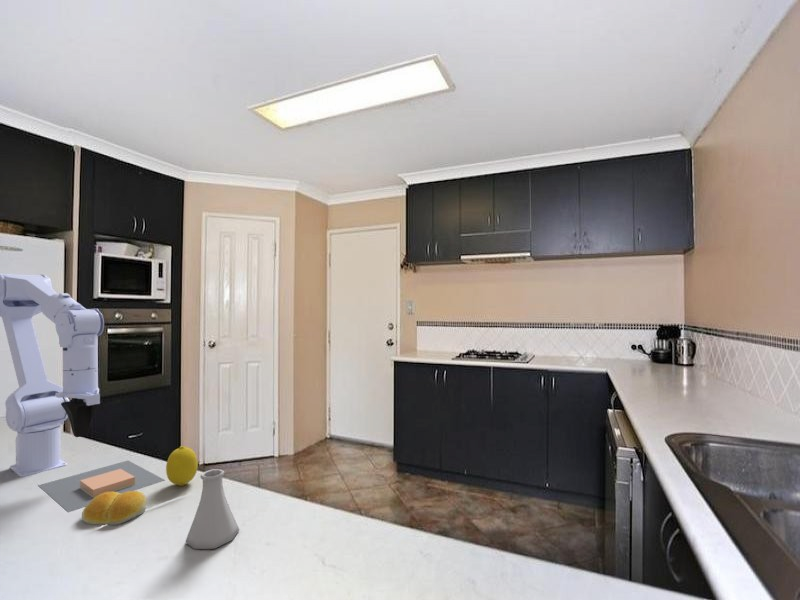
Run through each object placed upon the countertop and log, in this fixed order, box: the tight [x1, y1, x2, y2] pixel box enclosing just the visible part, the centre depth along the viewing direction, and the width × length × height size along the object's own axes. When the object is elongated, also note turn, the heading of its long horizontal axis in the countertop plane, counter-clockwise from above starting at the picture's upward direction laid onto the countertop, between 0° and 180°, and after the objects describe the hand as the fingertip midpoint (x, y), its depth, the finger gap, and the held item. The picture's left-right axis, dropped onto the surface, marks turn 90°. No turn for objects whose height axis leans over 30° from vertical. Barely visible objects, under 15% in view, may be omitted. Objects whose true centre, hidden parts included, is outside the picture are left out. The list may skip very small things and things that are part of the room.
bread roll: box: [81, 490, 147, 526], centre depth 73 cm, size 8×9×4 cm
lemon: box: [165, 445, 199, 487], centre depth 84 cm, size 6×6×8 cm
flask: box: [185, 468, 240, 550], centre depth 66 cm, size 7×7×10 cm
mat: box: [37, 460, 165, 513], centre depth 85 cm, size 18×16×1 cm
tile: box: [80, 469, 135, 498], centre depth 83 cm, size 2×7×7 cm
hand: (81, 435), depth 86 cm, fingers closed
